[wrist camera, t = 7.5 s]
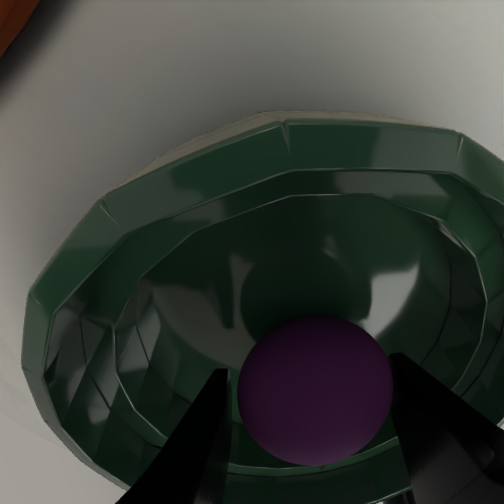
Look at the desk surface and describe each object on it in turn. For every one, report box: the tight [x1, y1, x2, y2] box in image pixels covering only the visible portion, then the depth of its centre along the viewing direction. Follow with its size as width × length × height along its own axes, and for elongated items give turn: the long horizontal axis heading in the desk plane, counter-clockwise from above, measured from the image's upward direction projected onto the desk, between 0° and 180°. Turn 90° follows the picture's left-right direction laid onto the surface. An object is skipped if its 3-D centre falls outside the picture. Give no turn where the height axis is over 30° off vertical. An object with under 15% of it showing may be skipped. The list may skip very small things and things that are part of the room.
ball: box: [237, 315, 393, 465], centre depth 8 cm, size 4×4×4 cm
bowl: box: [21, 111, 504, 504], centre depth 8 cm, size 14×14×5 cm
